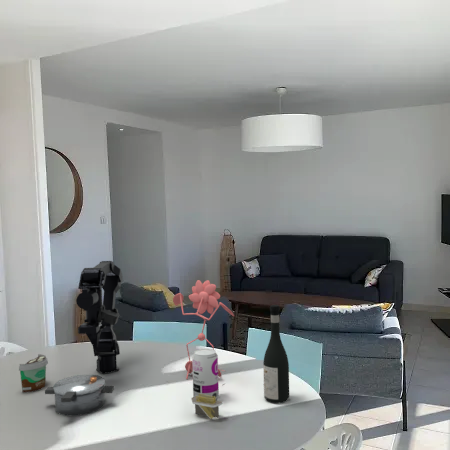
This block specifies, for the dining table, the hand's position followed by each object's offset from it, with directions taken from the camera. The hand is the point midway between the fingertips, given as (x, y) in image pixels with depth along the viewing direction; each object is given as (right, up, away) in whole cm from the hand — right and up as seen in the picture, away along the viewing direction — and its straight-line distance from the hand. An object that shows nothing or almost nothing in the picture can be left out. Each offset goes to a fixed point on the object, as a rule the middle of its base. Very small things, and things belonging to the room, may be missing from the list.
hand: (95, 347), depth 176 cm
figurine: (+39, -12, +7) cm, 41 cm away
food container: (-20, -14, -1) cm, 24 cm away
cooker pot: (0, -14, -18) cm, 23 cm away
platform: (+40, -14, -28) cm, 51 cm away
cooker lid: (0, -8, -21) cm, 22 cm away
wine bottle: (+62, -13, -17) cm, 65 cm away
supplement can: (+39, -13, -14) cm, 44 cm away
